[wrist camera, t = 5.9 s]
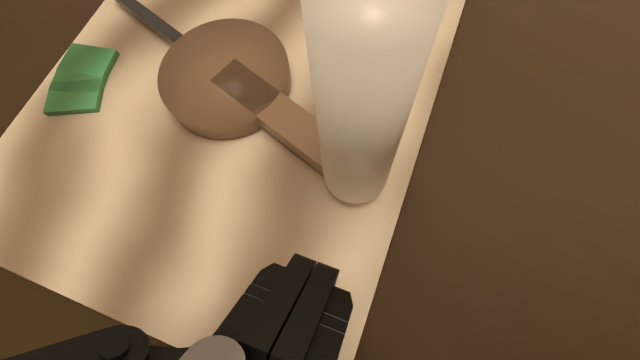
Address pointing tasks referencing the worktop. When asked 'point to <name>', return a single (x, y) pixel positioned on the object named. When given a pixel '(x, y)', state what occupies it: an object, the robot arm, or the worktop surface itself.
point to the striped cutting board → (183, 182)
